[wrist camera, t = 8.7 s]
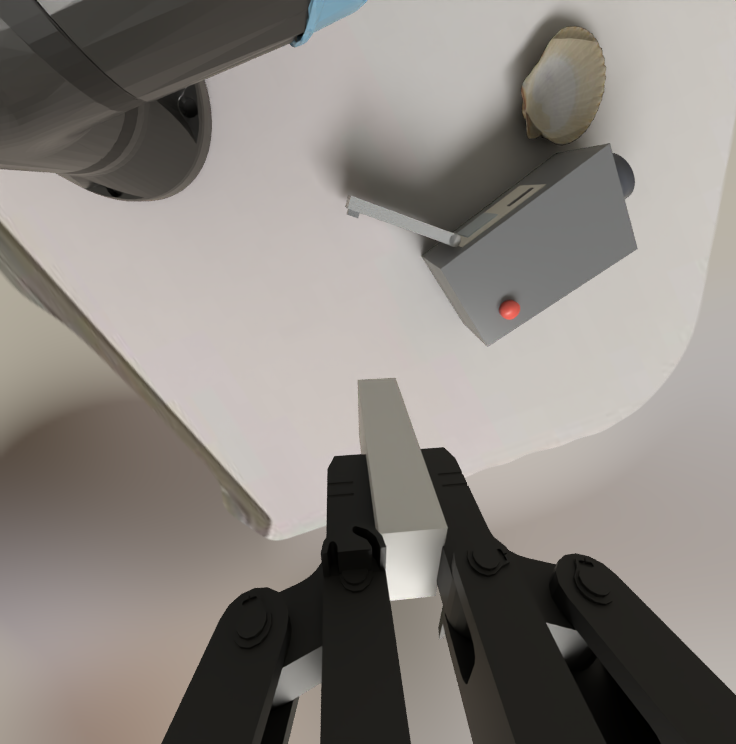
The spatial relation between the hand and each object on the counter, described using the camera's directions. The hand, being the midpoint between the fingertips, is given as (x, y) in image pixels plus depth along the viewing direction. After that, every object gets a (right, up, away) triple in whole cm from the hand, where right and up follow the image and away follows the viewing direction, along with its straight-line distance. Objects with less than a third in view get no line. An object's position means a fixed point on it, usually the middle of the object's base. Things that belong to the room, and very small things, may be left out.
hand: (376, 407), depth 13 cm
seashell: (+17, +27, +17) cm, 36 cm away
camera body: (+16, +16, +22) cm, 32 cm away
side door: (+2, +17, +19) cm, 26 cm away
